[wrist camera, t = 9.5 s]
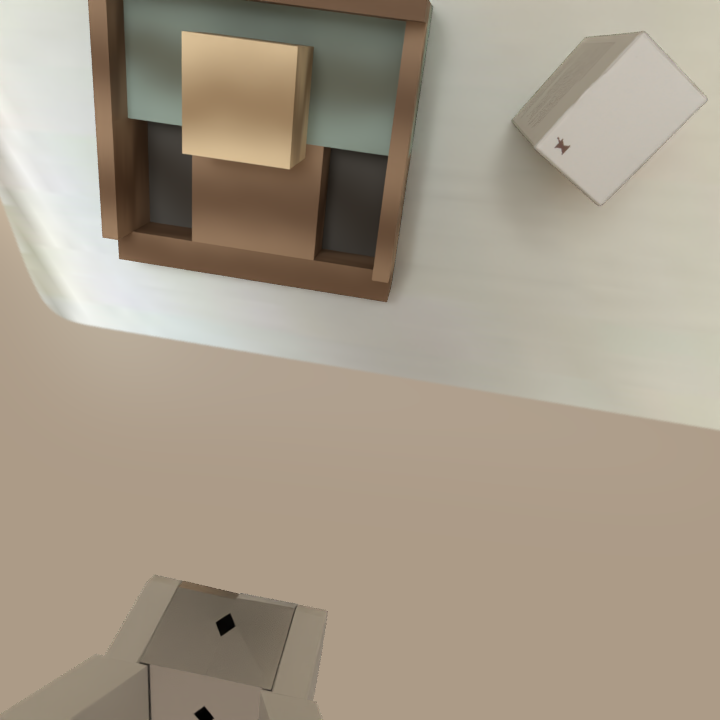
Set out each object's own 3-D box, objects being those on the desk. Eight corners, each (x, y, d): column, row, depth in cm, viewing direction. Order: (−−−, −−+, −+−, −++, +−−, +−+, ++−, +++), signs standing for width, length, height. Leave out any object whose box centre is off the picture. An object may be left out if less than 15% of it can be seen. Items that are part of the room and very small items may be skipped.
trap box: (129, -33, 38) (64, -49, 32) (432, 6, 37) (427, -2, 31) (138, 246, 46) (88, 277, 39) (391, 286, 44) (380, 325, 38)
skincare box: (560, 167, 40) (598, 212, 29) (509, 120, 39) (529, 147, 28) (640, 84, 37) (713, 99, 26) (587, 32, 36) (641, 25, 26)
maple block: (208, 32, 36) (181, 31, 33) (313, 46, 36) (297, 46, 32) (207, 143, 39) (182, 153, 35) (305, 157, 39) (289, 169, 35)
